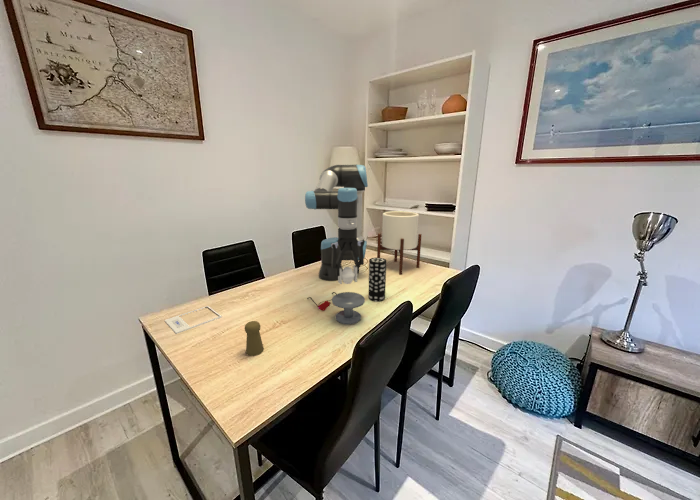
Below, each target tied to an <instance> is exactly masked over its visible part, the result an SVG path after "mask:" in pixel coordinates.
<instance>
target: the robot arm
mask: <svg viewBox="0 0 700 500" xmlns="http://www.w3.org/2000/svg"><path fill="white" fill-rule="evenodd" d="M337 187H338V190H335V191H334V188H337ZM368 187H369V185H368V175H367V169H366V166H365V165H364V164H335V165H334V164H333V165H331V166H330V167H328V168H326V169H324V170H323V171H322V172H321V173H320V175H319V182H318V183H317V186H316V187H315V189H314V190H308V191H306V192H305V196H304V203H305V206H306V208H307V209H309V210H337V227H338V229H337V237H328V238H326V239H323V240H322V241H321V243H320V254H321V255H320V258H321V265H320V269H319V272H318V277H319V279H321V280H323V281H329V282H330V281H337V283H338V284H339V285H342V284H343V280H342V271H343V269H344V267H343V266H342V262H343V261H353V262H354V265H352V266H353V267H352V271H353V272H354V273H355V276H354V279H353V281H354V283H358V274H360V267H361V266H363V265H364V263H365V260H364V259H365V258H366V257H365V256H366V250H367V243H368V242H367V240H365V237H364V236H363V230H362V229H363V193H364V192H365V191H366V188H368Z"/></svg>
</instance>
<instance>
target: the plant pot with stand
mask: <svg viewBox="0 0 700 500" xmlns="http://www.w3.org/2000/svg"><path fill="white" fill-rule="evenodd" d="M419 217H420V214H419V213H417V212H413V211H405V210H403V211H400V210H396V211H395V210H393V211H384V212H383V213H382V222H381V223H382V229H381V233H377V248H376V249H377V251H376V252H377V253H376V256H377V257H376V258H381V251H394V255H393V257H394V258H393V261H394V262H395V263H397V262H398V254H399V264H398V265H399V267H398V275H399V276H402V275H403V269H404V268H403V265H404V251H417V252H416V264H415V268H416V269H420V265H421V264H420V263H421V262H420V260H421V259H420V258H421V248H422V247H421V245H422V233H419V232H418V231H419V219H420V218H419ZM398 252H399V253H398Z"/></svg>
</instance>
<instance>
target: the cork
mask: <svg viewBox="0 0 700 500" xmlns="http://www.w3.org/2000/svg"><path fill="white" fill-rule="evenodd" d="M244 331H245V334H246V345H245V347H246V348H245V354H246V355H247V356H249V357H255V356H258V355H259V356H260V355H261V354H262V353H263V352H264V350H265V348H264V344H263V341H262V337H261V334H260V331H261V324H260V322H259V321H256V320H252V321H249V322H247V323H246V324H245V325H244Z"/></svg>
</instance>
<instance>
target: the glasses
mask: <svg viewBox="0 0 700 500" xmlns="http://www.w3.org/2000/svg"><path fill="white" fill-rule="evenodd" d="M331 294H332V295H333V294H334V295H336V294H337V292H336V291H335V292H334V291H333V292H331ZM306 299H307V300H308V299H310V300H311V301H312V302H313V303H314V305H316V307H317V309H318V310H319V311H322V312H323V311H326V310H327V309H328V307H330V305H331V304H332V302H330V301H331V299H328V300H325V301H321V302H319V303H318V304H317V303H316V302H315V301H314V299H313V298H312V297H311V296H308V297H307V298H306Z"/></svg>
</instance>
